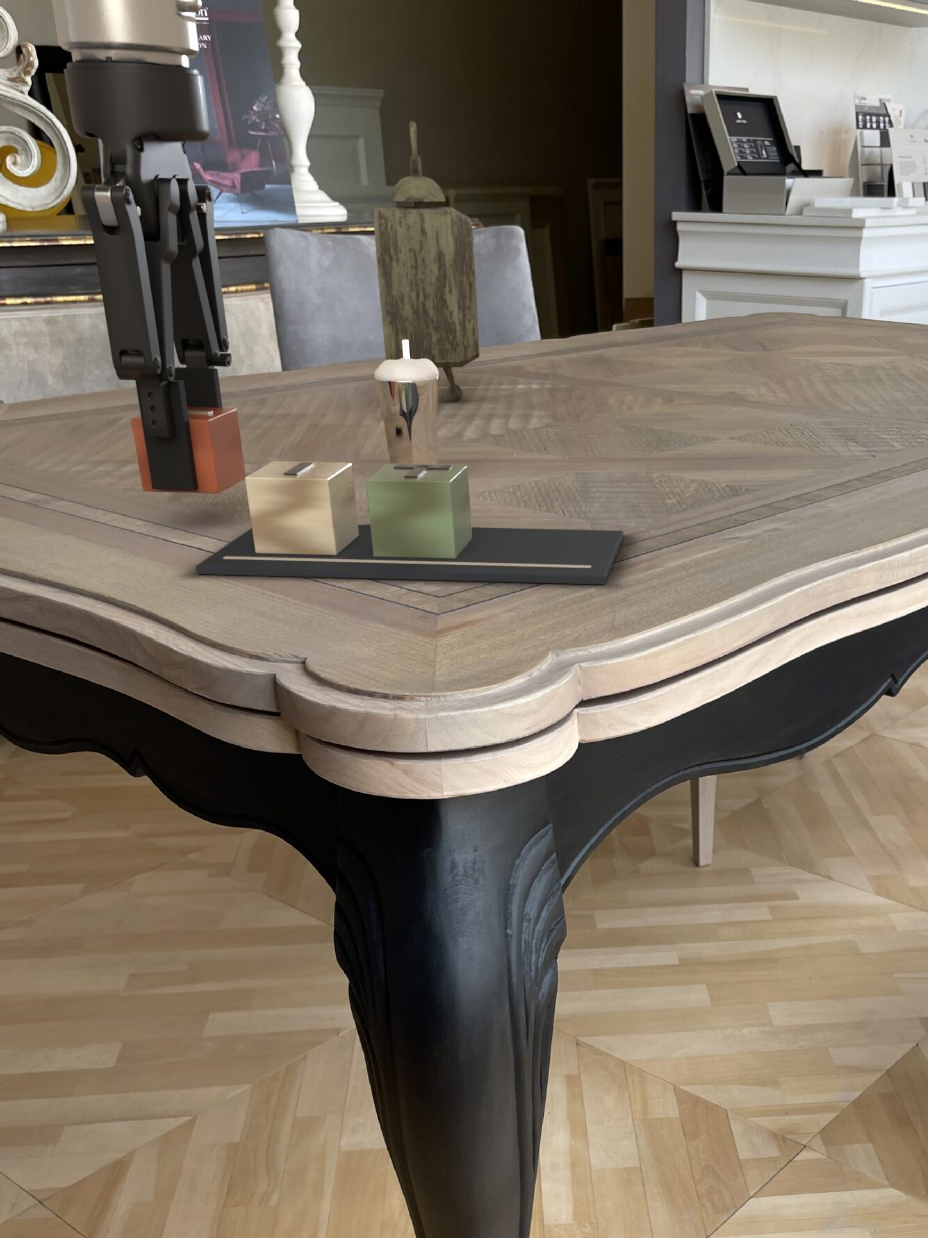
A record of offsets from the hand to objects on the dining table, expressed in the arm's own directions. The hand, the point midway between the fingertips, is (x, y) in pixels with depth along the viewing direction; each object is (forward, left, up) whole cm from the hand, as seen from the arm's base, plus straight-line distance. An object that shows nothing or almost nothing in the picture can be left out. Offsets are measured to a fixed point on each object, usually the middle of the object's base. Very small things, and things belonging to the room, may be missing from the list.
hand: (192, 479), depth 86 cm
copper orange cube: (0, 0, 0) cm, 0 cm away
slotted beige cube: (+10, -6, -2) cm, 12 cm away
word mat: (+17, -6, -3) cm, 18 cm away
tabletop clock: (+4, +55, -3) cm, 55 cm away
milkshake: (+12, +13, -3) cm, 18 cm away
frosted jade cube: (+17, -6, -2) cm, 18 cm away
